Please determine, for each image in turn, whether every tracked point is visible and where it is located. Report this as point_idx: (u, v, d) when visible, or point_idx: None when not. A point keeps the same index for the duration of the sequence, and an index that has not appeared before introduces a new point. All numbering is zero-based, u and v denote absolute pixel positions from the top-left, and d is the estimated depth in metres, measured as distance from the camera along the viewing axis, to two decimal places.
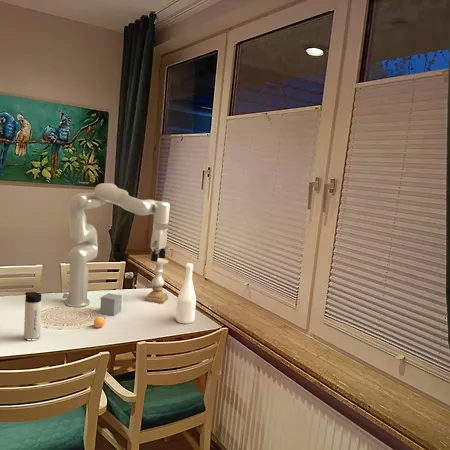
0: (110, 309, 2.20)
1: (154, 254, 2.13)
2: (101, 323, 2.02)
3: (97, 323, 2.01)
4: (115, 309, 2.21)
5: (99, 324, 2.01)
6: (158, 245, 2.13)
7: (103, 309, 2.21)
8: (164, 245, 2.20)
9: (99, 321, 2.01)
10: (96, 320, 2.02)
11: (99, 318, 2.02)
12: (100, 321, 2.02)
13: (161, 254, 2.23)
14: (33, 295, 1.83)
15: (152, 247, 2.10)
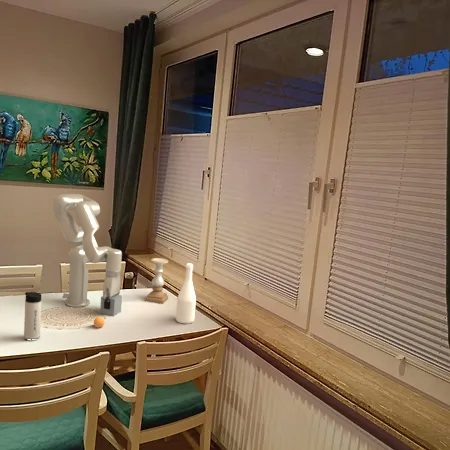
0: (110, 309, 2.20)
1: (106, 302, 2.18)
2: (101, 323, 2.02)
3: (97, 323, 2.01)
4: (115, 309, 2.21)
5: (99, 324, 2.01)
6: (110, 293, 2.18)
7: (103, 309, 2.21)
8: (117, 291, 2.25)
9: (99, 321, 2.01)
10: (96, 320, 2.02)
11: (99, 318, 2.02)
12: (100, 321, 2.02)
13: None
14: (33, 295, 1.83)
15: (103, 296, 2.15)
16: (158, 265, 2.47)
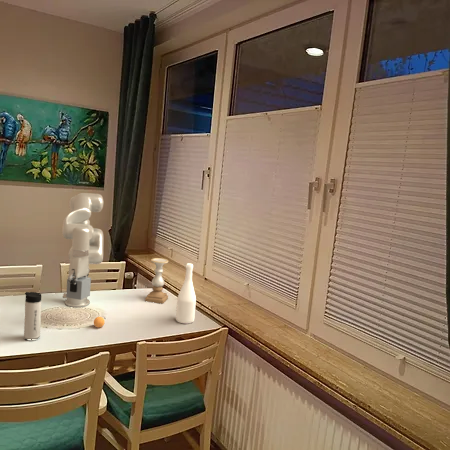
0: (77, 292, 2.01)
1: (72, 284, 1.99)
2: (101, 323, 2.02)
3: (97, 323, 2.01)
4: (83, 292, 2.02)
5: (99, 324, 2.01)
6: (76, 275, 1.99)
7: (70, 292, 2.02)
8: (86, 273, 2.06)
9: (99, 321, 2.01)
10: (96, 320, 2.02)
11: (99, 318, 2.02)
12: (100, 321, 2.02)
13: None
14: (33, 295, 1.83)
15: (69, 278, 1.96)
16: (158, 265, 2.47)
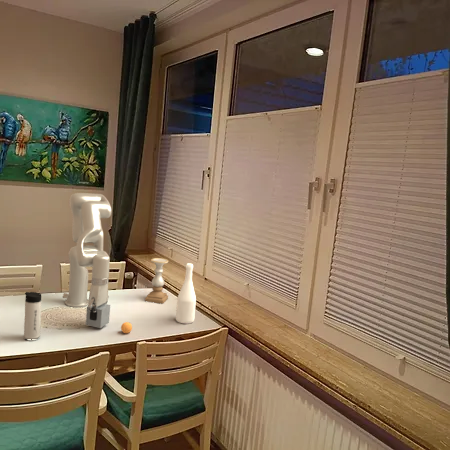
0: (97, 320, 1.99)
1: (92, 312, 1.98)
2: (128, 326, 1.98)
3: (124, 328, 1.98)
4: (102, 320, 2.00)
5: (127, 328, 1.98)
6: (96, 303, 1.98)
7: (89, 320, 2.00)
8: (105, 301, 2.04)
9: (125, 325, 1.98)
10: (122, 326, 1.98)
11: (123, 323, 1.99)
12: (126, 325, 1.98)
13: None
14: (33, 295, 1.83)
15: (89, 306, 1.95)
16: (158, 265, 2.47)
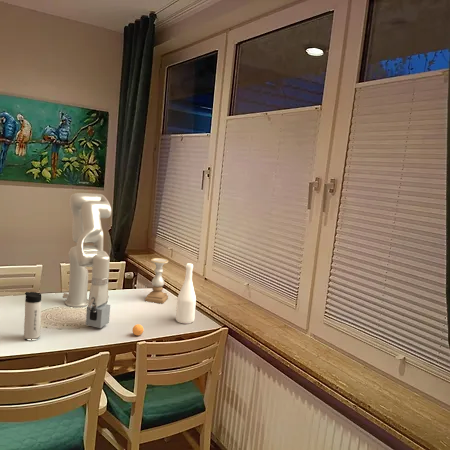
0: (97, 320, 1.99)
1: (92, 312, 1.98)
2: None
3: (135, 332, 1.97)
4: (102, 320, 2.00)
5: (135, 334, 1.97)
6: (96, 303, 1.98)
7: (89, 320, 2.00)
8: (105, 301, 2.04)
9: (138, 334, 1.97)
10: (138, 331, 1.97)
11: (141, 332, 1.97)
12: (138, 334, 1.97)
13: None
14: (33, 295, 1.83)
15: (89, 306, 1.95)
16: (158, 265, 2.47)
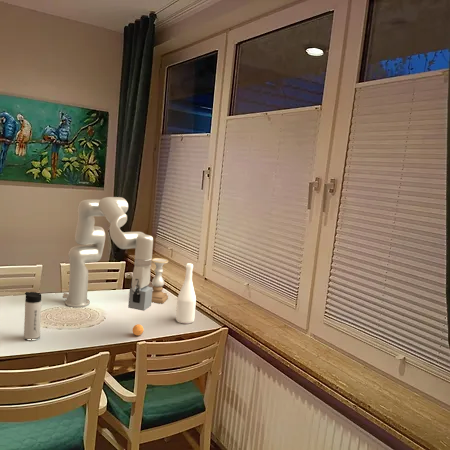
0: (140, 303, 1.93)
1: (136, 295, 1.92)
2: None
3: (135, 332, 1.97)
4: (145, 303, 1.94)
5: (135, 334, 1.97)
6: (140, 285, 1.91)
7: (132, 303, 1.94)
8: (147, 283, 1.98)
9: (138, 334, 1.97)
10: (138, 331, 1.97)
11: (141, 332, 1.97)
12: (138, 334, 1.97)
13: None
14: (33, 295, 1.83)
15: (133, 288, 1.88)
16: (158, 265, 2.47)
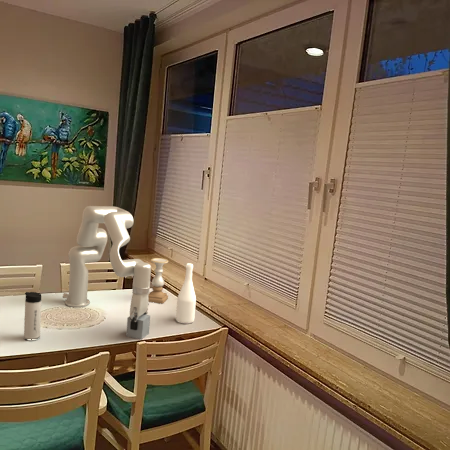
0: (138, 331, 1.95)
1: (133, 322, 1.93)
2: None
3: None
4: (143, 331, 1.96)
5: None
6: (138, 312, 1.93)
7: (130, 331, 1.96)
8: (145, 310, 2.00)
9: None
10: None
11: None
12: None
13: None
14: (33, 295, 1.83)
15: (131, 315, 1.90)
16: (158, 265, 2.47)
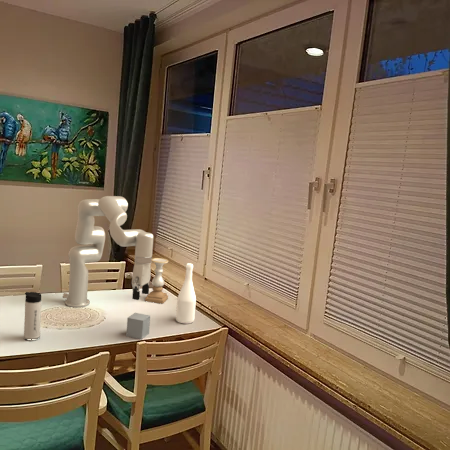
0: (138, 331, 1.95)
1: (135, 292, 1.91)
2: None
3: None
4: (143, 331, 1.96)
5: None
6: (140, 281, 1.91)
7: (130, 331, 1.96)
8: (148, 281, 1.98)
9: None
10: None
11: None
12: None
13: (144, 290, 2.01)
14: (33, 295, 1.83)
15: (133, 284, 1.88)
16: (158, 265, 2.47)
